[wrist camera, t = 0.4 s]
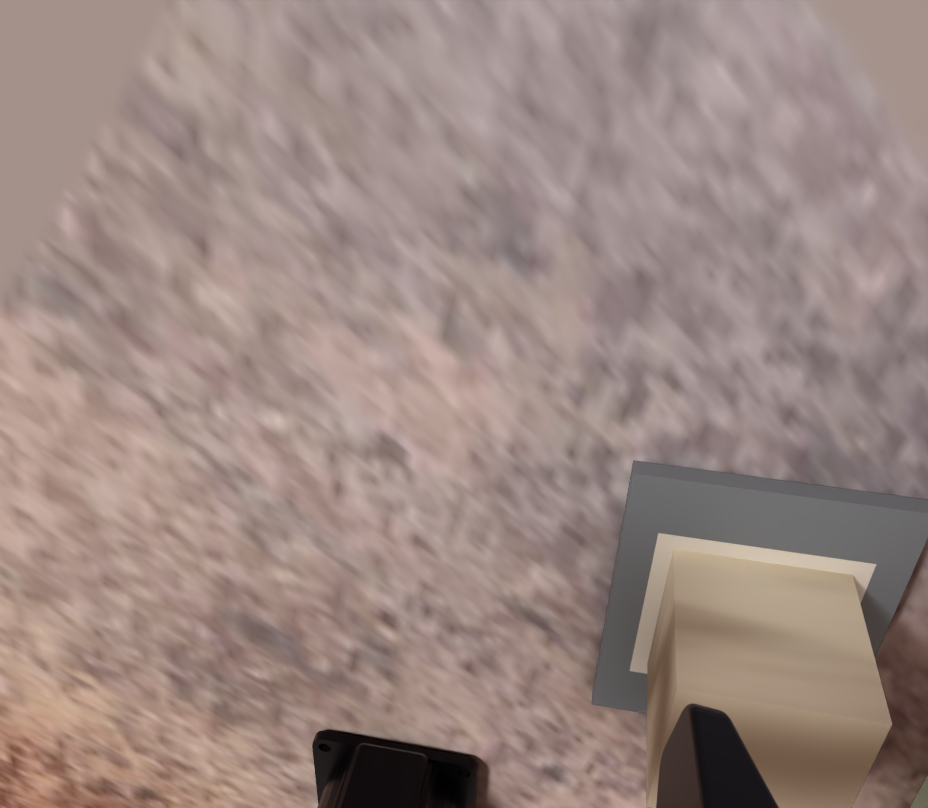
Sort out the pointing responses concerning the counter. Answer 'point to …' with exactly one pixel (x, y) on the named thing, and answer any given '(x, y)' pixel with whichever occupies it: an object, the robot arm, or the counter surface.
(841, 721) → the maple block
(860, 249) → the counter surface
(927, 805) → the green block
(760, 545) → the grey base plate
